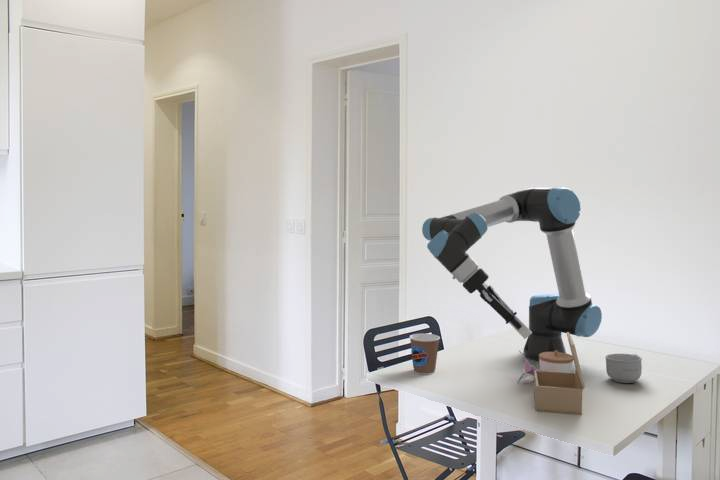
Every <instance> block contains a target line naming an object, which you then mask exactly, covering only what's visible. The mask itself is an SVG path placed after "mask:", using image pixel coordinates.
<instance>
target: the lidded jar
mask: <svg viewBox="0 0 720 480" xmlns="http://www.w3.org/2000/svg"><path fill="white" fill-rule="evenodd" d="M538 361H539V362H538V363H539V371H553V372H568V373H573V372H572V371H573V367H574V360H573V357H572V354H569V353H567V352H566V353H562V352H558V351H557V350H555V352H543V353H540V354H539V360H538Z"/></svg>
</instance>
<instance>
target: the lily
mask: <svg viewBox="0 0 720 480" xmlns="http://www.w3.org/2000/svg"><path fill="white" fill-rule="evenodd" d="M518 352H519V353H520V354H521V355H522V358H523V360H524V361H522V364H523V365H524V372H523V373H522V375H521V376H520V378H518V379H519V380H518V381H517V384H519V383H520V381H521V379H522V378H523V376H524V375H526V374H527V375H531V376H533V377H534V370H537V371H539V369H537V367H536V365H535V364H533V365H532V364H531V363H530V361H529V360H528V358H527V357H525V356H524V353H523V352H522V351H521V350H518Z"/></svg>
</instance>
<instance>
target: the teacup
mask: <svg viewBox="0 0 720 480" xmlns="http://www.w3.org/2000/svg"><path fill="white" fill-rule="evenodd" d="M642 361H643V358H642V357H641V356H639V355H638V354H637V353H632V354H631V353H609V354H605V366H606V368H605V369H606V374H607V376H608V377H609V378H610V379H611V380H612V381H614V382H615V383H621V384H631V383H632V384H633V383H636V382H637V381H638V380H639V379H640V378H641V376H642V371H643V369H642Z"/></svg>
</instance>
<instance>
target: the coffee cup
mask: <svg viewBox="0 0 720 480" xmlns="http://www.w3.org/2000/svg"><path fill="white" fill-rule="evenodd" d="M408 338H409V340H410V347H411V348H410V349H411V352H410V353H411V359H412V360H411V361H412V368H413V371H414V373H415V374H418V375H424V374H425V375H432V374H434V373H435V371H436V366H437V360H438V359H437V358H438V350H439V345H440V344H439V343H440V342H439V341H440V339H441V337H440V336H439V335H437V334H432V333H414V334H410V335H409V337H408Z"/></svg>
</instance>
